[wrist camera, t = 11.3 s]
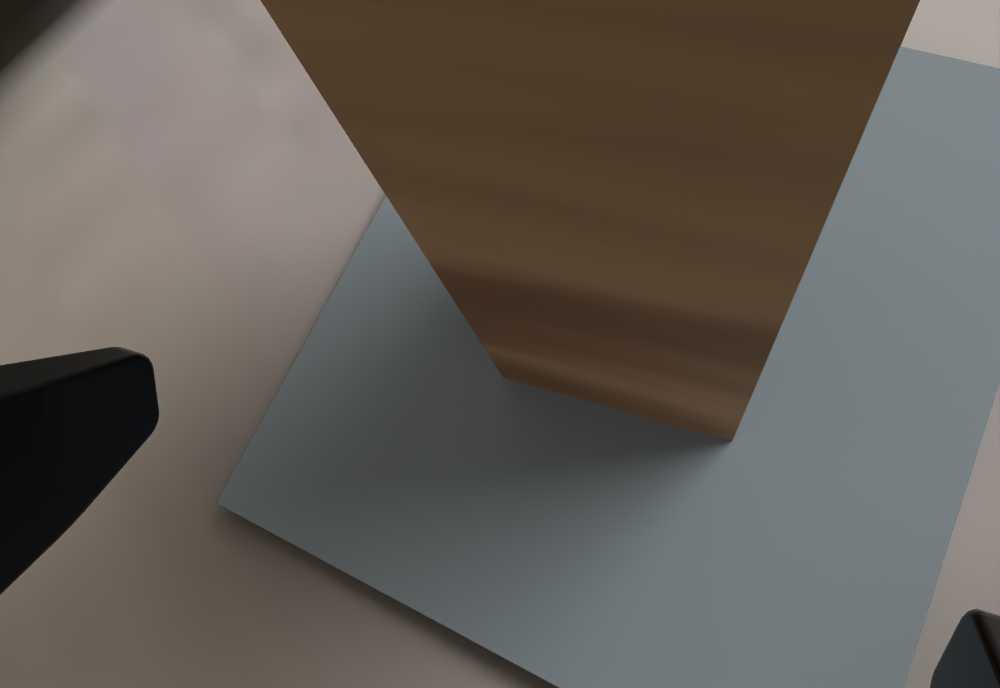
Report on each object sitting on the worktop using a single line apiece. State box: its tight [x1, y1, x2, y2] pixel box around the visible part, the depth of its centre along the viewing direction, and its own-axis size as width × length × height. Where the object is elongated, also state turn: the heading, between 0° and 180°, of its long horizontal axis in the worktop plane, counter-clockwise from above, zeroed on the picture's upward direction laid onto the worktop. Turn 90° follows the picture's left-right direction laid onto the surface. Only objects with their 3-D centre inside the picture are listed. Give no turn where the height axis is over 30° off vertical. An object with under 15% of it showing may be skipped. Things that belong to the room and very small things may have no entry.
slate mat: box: [216, 47, 1000, 688], centre depth 17 cm, size 16×14×1 cm
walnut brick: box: [261, 0, 920, 441], centre depth 11 cm, size 5×5×13 cm
